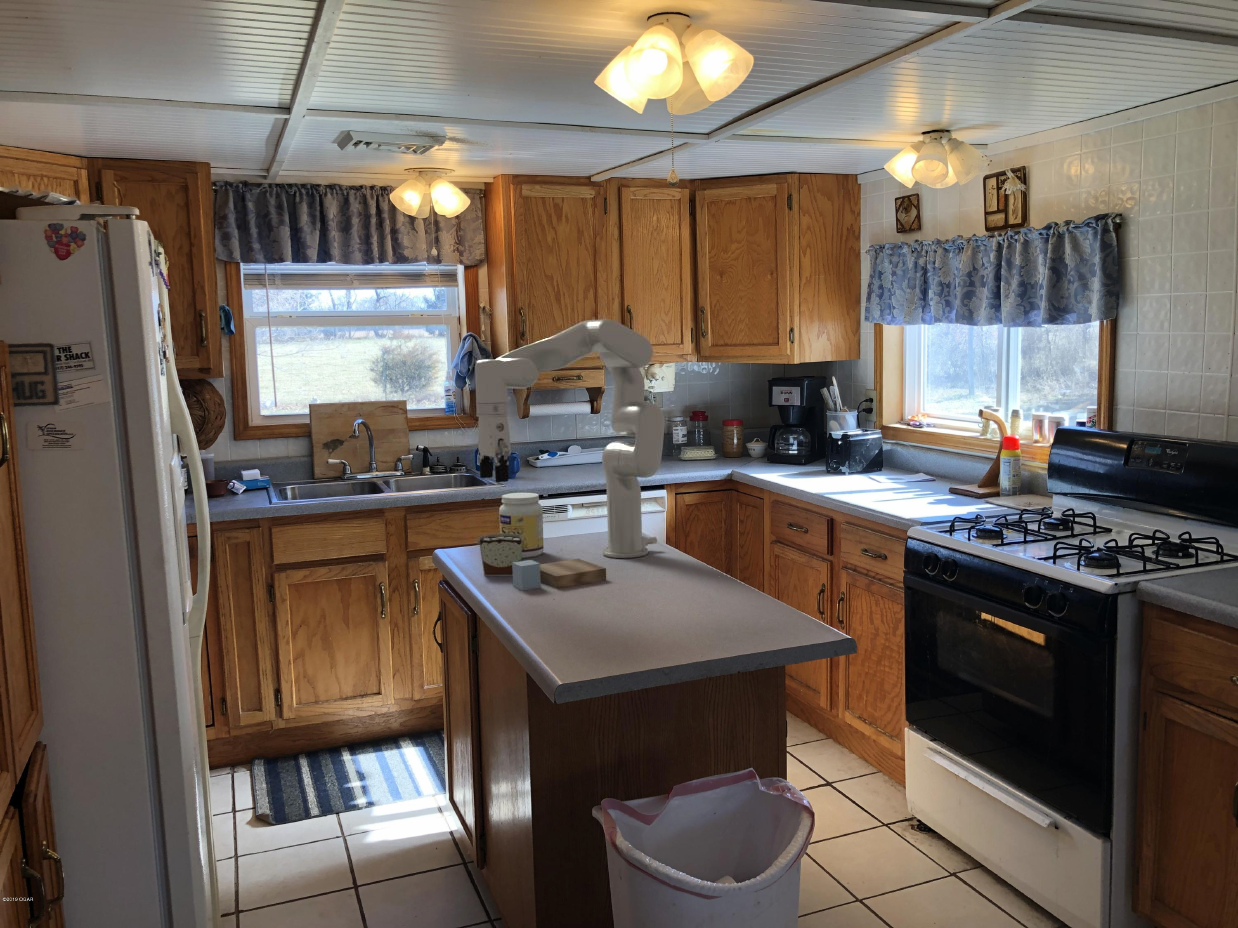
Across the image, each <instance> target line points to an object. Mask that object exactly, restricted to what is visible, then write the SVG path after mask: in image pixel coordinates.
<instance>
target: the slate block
mask: <svg viewBox="0 0 1238 928" xmlns="http://www.w3.org/2000/svg"><path fill="white" fill-rule="evenodd" d="M540 564H541V563H540V562H538V561H535V560H532V559H526V560H521V561H520V562H514V563H512V569H513V576H512V587H513V588H515V589H517V590H520V591H528V590H533V589H539V588H540V589H541V587H542V585H541V584H542V582H541V580H540Z"/></svg>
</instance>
